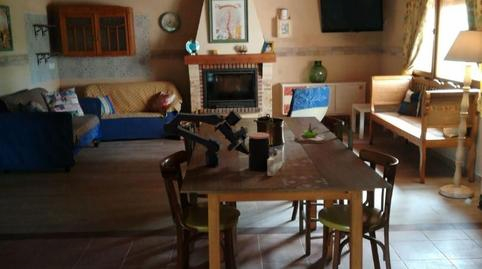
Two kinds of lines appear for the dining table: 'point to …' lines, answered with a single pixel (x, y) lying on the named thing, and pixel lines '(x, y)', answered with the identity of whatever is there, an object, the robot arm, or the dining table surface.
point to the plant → (310, 136)
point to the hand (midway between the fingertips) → (248, 154)
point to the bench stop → (274, 162)
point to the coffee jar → (258, 151)
